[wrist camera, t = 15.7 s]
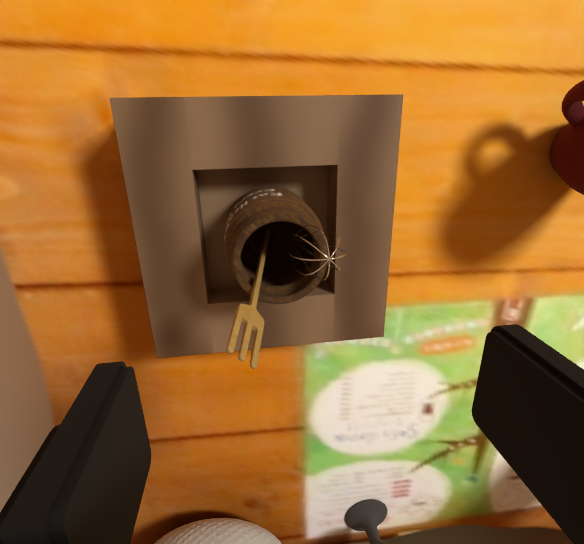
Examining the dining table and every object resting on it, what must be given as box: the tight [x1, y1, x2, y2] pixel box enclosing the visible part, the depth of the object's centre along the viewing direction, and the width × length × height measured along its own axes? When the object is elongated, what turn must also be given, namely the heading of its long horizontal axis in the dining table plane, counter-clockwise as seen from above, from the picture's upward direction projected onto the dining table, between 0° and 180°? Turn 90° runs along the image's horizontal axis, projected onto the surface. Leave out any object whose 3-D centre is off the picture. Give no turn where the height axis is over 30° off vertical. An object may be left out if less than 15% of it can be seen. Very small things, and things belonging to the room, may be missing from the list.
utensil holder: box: [224, 186, 346, 369], centre depth 20 cm, size 6×6×12 cm
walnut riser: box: [110, 95, 403, 358], centre depth 26 cm, size 16×16×6 cm
